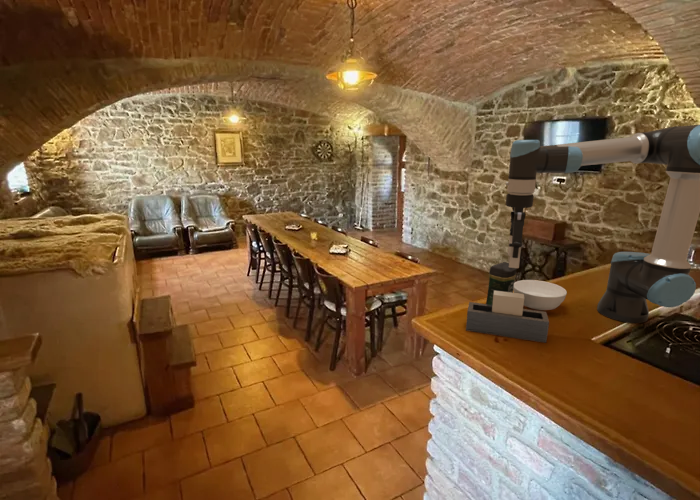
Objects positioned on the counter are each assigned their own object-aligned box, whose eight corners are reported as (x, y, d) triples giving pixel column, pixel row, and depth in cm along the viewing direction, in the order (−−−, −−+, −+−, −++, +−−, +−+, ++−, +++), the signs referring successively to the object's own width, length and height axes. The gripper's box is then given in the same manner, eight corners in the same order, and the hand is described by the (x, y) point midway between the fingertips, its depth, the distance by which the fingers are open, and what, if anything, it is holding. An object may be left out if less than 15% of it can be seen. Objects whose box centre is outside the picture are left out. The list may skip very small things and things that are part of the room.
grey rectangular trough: (543, 331, 125) (546, 311, 123) (546, 342, 118) (549, 322, 116) (467, 320, 133) (469, 301, 131) (465, 330, 126) (467, 311, 124)
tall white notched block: (519, 326, 125) (523, 293, 122) (520, 331, 122) (524, 298, 119) (490, 322, 128) (493, 290, 125) (490, 327, 125) (493, 294, 122)
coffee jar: (502, 319, 134) (507, 269, 129) (481, 312, 140) (486, 264, 135) (515, 311, 140) (520, 263, 135) (495, 305, 146) (499, 259, 141)
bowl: (562, 320, 133) (565, 301, 131) (507, 309, 142) (509, 291, 141) (565, 302, 148) (568, 285, 146) (515, 293, 157) (517, 277, 155)
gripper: (505, 188, 126) (499, 250, 132) (507, 198, 103) (500, 271, 109) (530, 189, 123) (523, 251, 129) (538, 199, 101) (528, 274, 106)
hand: (512, 261), depth 119 cm, fingers open, 13 cm apart
